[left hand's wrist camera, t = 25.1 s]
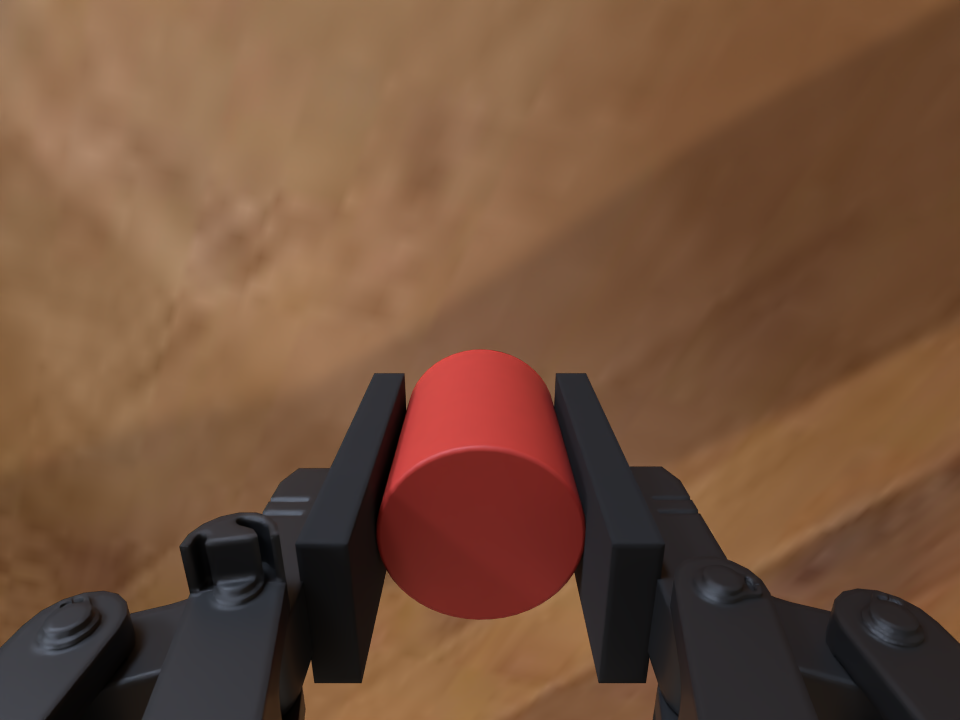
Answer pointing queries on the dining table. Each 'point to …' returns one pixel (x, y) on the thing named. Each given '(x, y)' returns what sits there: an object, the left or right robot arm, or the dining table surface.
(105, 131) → the dining table surface
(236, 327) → the dining table surface
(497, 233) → the dining table surface
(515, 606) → the canister
